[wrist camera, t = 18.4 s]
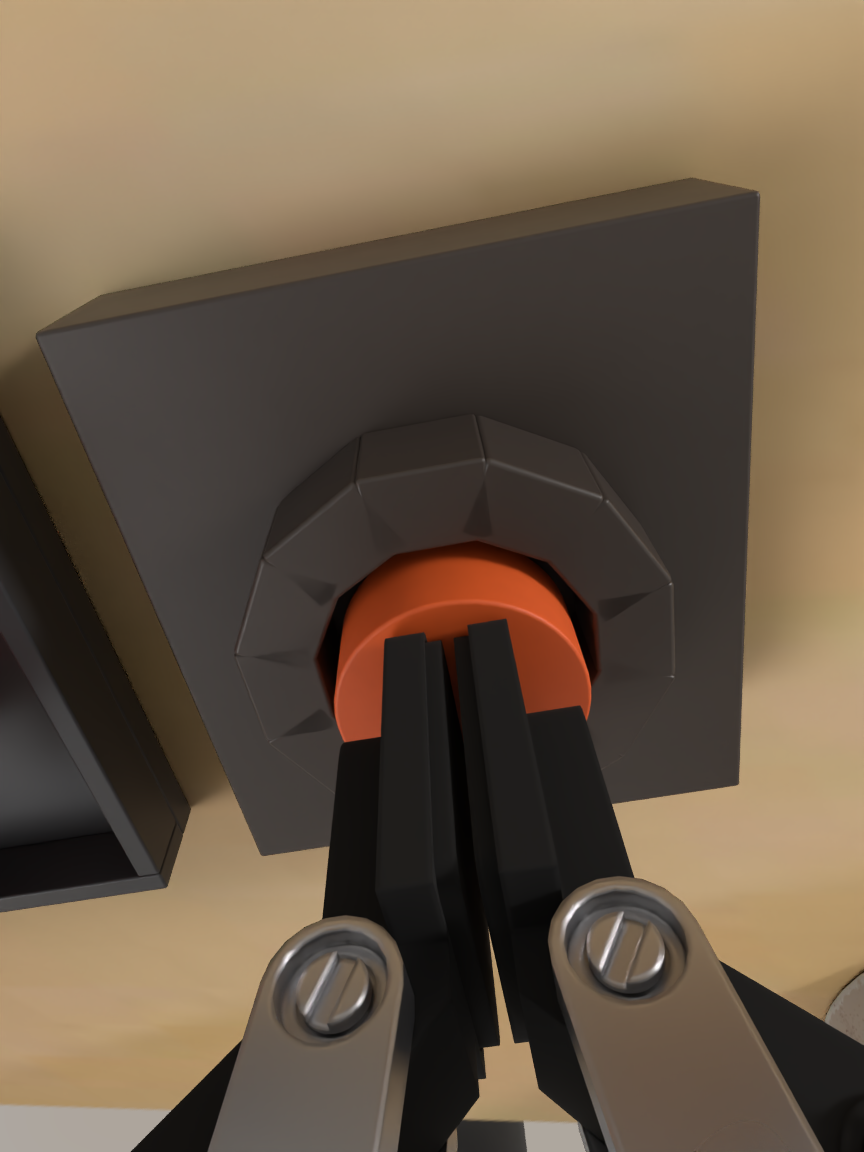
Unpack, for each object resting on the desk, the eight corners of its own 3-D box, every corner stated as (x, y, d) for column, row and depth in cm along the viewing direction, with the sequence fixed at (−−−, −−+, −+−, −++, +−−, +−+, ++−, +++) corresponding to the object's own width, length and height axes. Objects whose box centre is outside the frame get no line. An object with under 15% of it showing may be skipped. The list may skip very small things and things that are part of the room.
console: (696, 700, 18) (777, 859, 14) (278, 765, 19) (245, 935, 15) (695, 176, 12) (828, 202, 8) (98, 295, 13) (-32, 369, 9)
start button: (577, 705, 13) (600, 781, 12) (369, 738, 13) (365, 817, 12) (557, 517, 11) (581, 579, 10) (316, 559, 11) (304, 626, 10)
